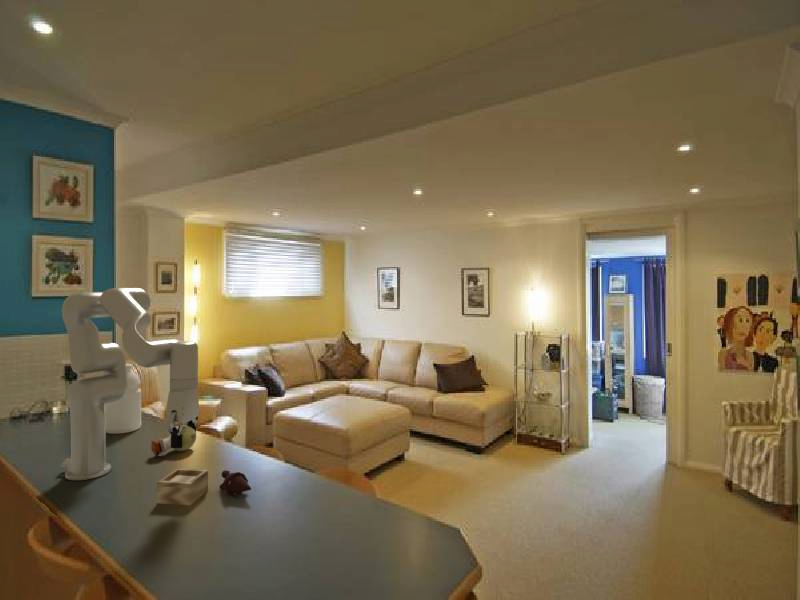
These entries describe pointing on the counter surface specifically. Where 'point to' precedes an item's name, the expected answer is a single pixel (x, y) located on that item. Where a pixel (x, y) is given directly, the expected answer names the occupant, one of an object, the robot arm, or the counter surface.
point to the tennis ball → (187, 437)
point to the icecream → (234, 483)
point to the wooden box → (182, 486)
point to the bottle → (125, 407)
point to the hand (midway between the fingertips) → (183, 443)
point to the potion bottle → (163, 446)
